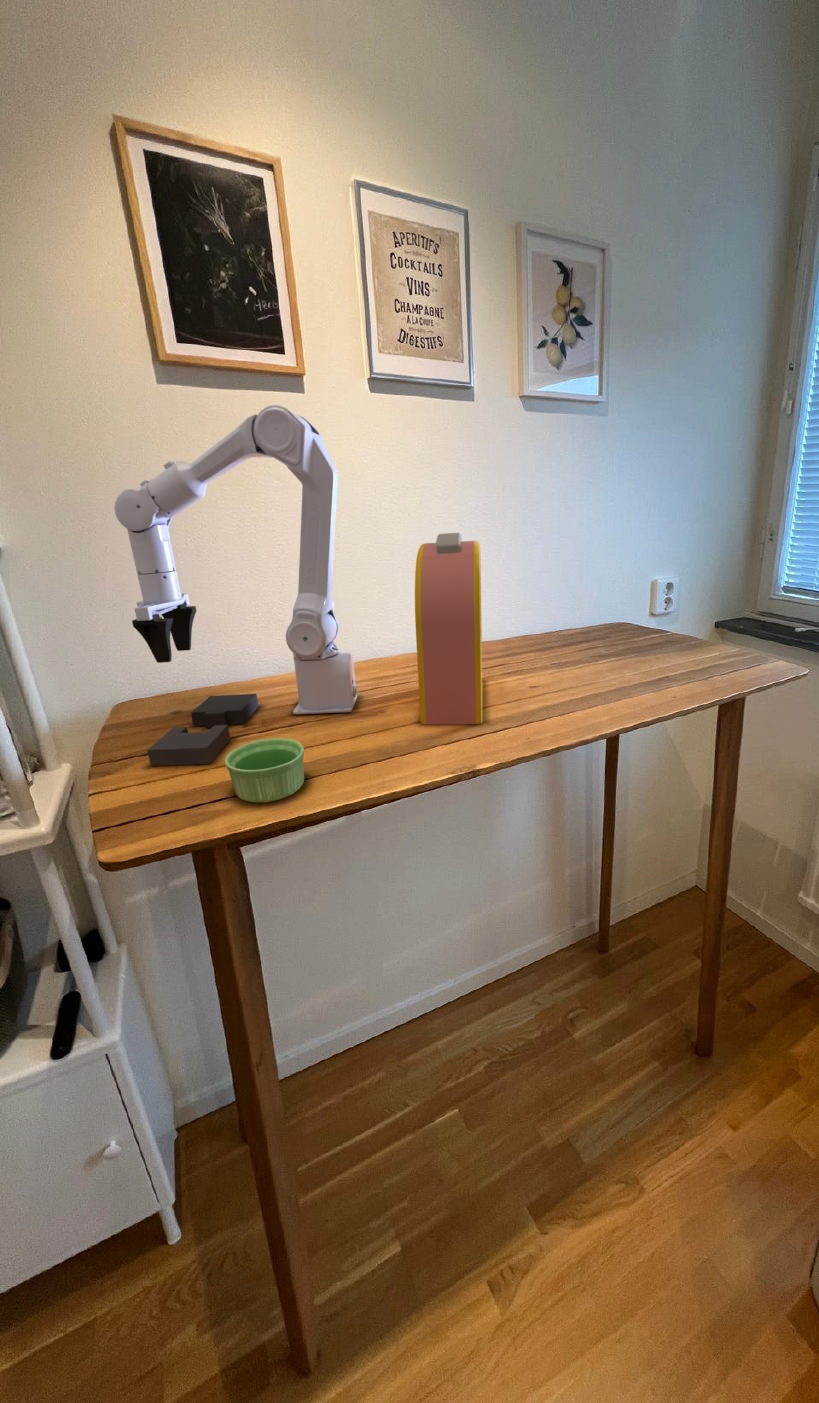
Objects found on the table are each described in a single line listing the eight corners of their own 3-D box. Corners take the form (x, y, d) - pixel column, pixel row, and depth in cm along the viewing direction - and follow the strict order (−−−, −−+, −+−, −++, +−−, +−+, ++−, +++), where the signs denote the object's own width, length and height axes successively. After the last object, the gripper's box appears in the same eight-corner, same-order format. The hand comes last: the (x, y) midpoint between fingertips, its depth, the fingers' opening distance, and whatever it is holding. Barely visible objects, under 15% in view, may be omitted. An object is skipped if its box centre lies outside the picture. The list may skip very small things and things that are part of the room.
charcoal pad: (230, 739, 80) (227, 724, 79) (209, 764, 72) (206, 747, 71) (176, 742, 80) (173, 726, 79) (150, 766, 72) (146, 749, 72)
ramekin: (269, 764, 71) (264, 733, 69) (324, 777, 66) (319, 744, 65) (214, 796, 64) (207, 761, 62) (271, 813, 59) (265, 776, 58)
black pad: (258, 707, 93) (256, 693, 92) (241, 726, 84) (239, 712, 83) (212, 709, 93) (210, 695, 92) (190, 729, 85) (187, 714, 84)
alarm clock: (482, 724, 80) (479, 535, 71) (420, 724, 81) (410, 538, 72) (482, 680, 99) (480, 528, 91) (432, 681, 101) (425, 531, 92)
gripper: (153, 568, 93) (170, 646, 98) (107, 579, 80) (128, 669, 84) (194, 566, 93) (209, 644, 97) (154, 576, 79) (173, 666, 84)
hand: (174, 655), depth 91 cm, fingers open, 7 cm apart
